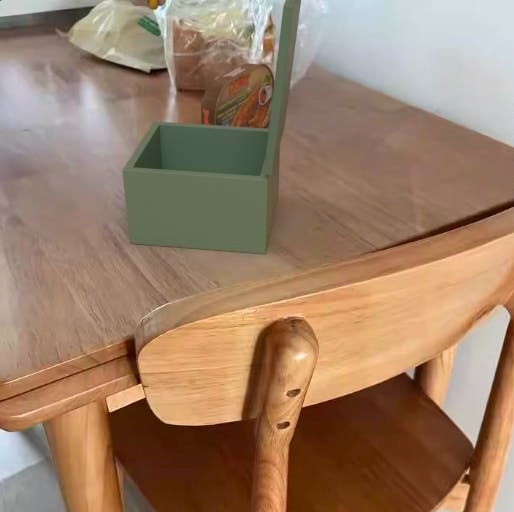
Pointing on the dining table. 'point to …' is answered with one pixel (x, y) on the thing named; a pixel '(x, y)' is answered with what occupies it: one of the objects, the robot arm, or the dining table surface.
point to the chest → (201, 188)
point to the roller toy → (149, 3)
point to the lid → (282, 81)
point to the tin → (239, 98)
